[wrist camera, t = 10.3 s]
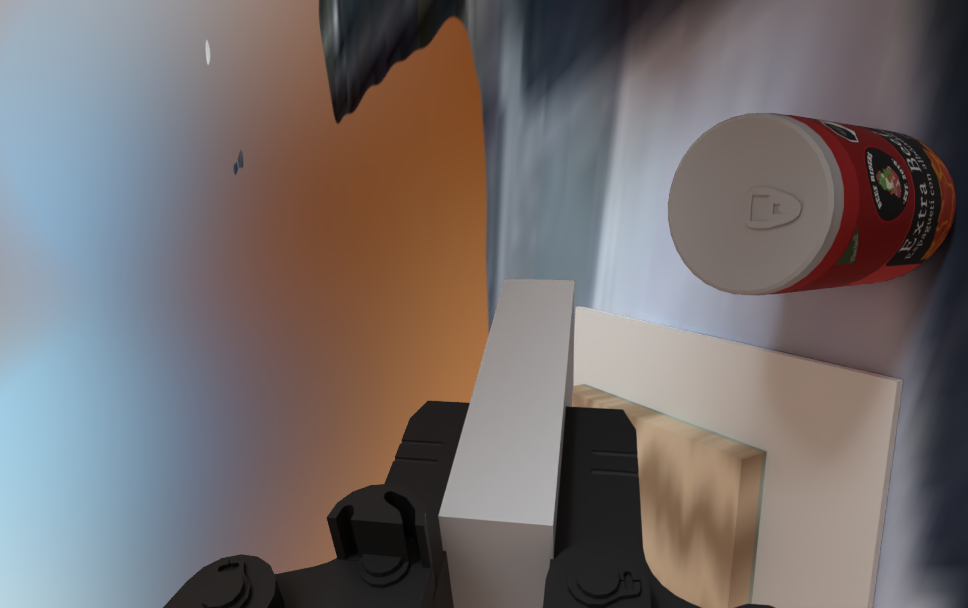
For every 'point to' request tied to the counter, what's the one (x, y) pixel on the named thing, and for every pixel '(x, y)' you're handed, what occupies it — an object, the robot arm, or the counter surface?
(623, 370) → the mat
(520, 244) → the counter surface
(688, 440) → the tile
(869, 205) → the canned food
